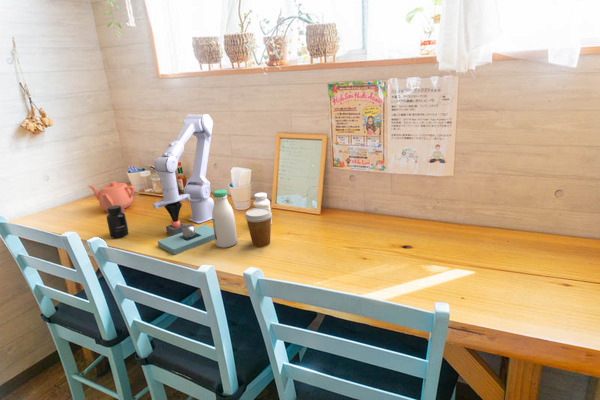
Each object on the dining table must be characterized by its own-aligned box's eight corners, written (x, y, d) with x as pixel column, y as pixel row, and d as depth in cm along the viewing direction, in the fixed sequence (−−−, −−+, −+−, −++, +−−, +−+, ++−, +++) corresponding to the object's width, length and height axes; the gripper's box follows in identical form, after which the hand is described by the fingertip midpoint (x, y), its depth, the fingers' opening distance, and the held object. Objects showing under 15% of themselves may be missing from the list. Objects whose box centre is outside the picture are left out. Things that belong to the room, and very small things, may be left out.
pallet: (205, 229, 163) (204, 224, 162) (222, 236, 154) (221, 231, 154) (158, 246, 149) (157, 241, 149) (174, 255, 141) (173, 249, 141)
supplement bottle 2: (260, 221, 167) (257, 191, 163) (275, 222, 164) (272, 192, 160) (252, 227, 161) (248, 196, 157) (266, 228, 158) (263, 197, 154)
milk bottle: (241, 240, 149) (235, 188, 143) (229, 249, 143) (222, 195, 136) (224, 238, 152) (217, 187, 146) (211, 246, 146) (203, 193, 140)
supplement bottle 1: (122, 239, 158) (116, 210, 154) (106, 238, 160) (100, 210, 156) (132, 232, 164) (126, 204, 161) (117, 231, 166) (111, 204, 162)
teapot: (108, 217, 184) (101, 189, 180) (93, 210, 195) (86, 183, 191) (141, 207, 195) (136, 180, 191) (125, 201, 206) (120, 175, 202)
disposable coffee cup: (263, 235, 152) (260, 205, 149) (280, 242, 146) (277, 210, 142) (242, 244, 146) (239, 213, 142) (259, 251, 140) (256, 218, 136)
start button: (178, 227, 162) (177, 218, 161) (182, 228, 160) (181, 220, 159) (171, 229, 160) (169, 221, 159) (175, 231, 158) (173, 223, 157)
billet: (193, 238, 155) (190, 223, 153) (198, 241, 151) (196, 226, 149) (182, 241, 152) (179, 226, 150) (187, 245, 149) (184, 229, 147)
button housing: (180, 228, 165) (179, 221, 164) (188, 232, 161) (187, 225, 160) (166, 233, 161) (165, 226, 160) (174, 237, 157) (173, 229, 156)
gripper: (181, 181, 162) (186, 213, 167) (146, 190, 153) (153, 224, 157) (190, 184, 158) (195, 217, 162) (155, 193, 148) (161, 228, 152)
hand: (175, 221), depth 159 cm, fingers closed, pressing on start button
